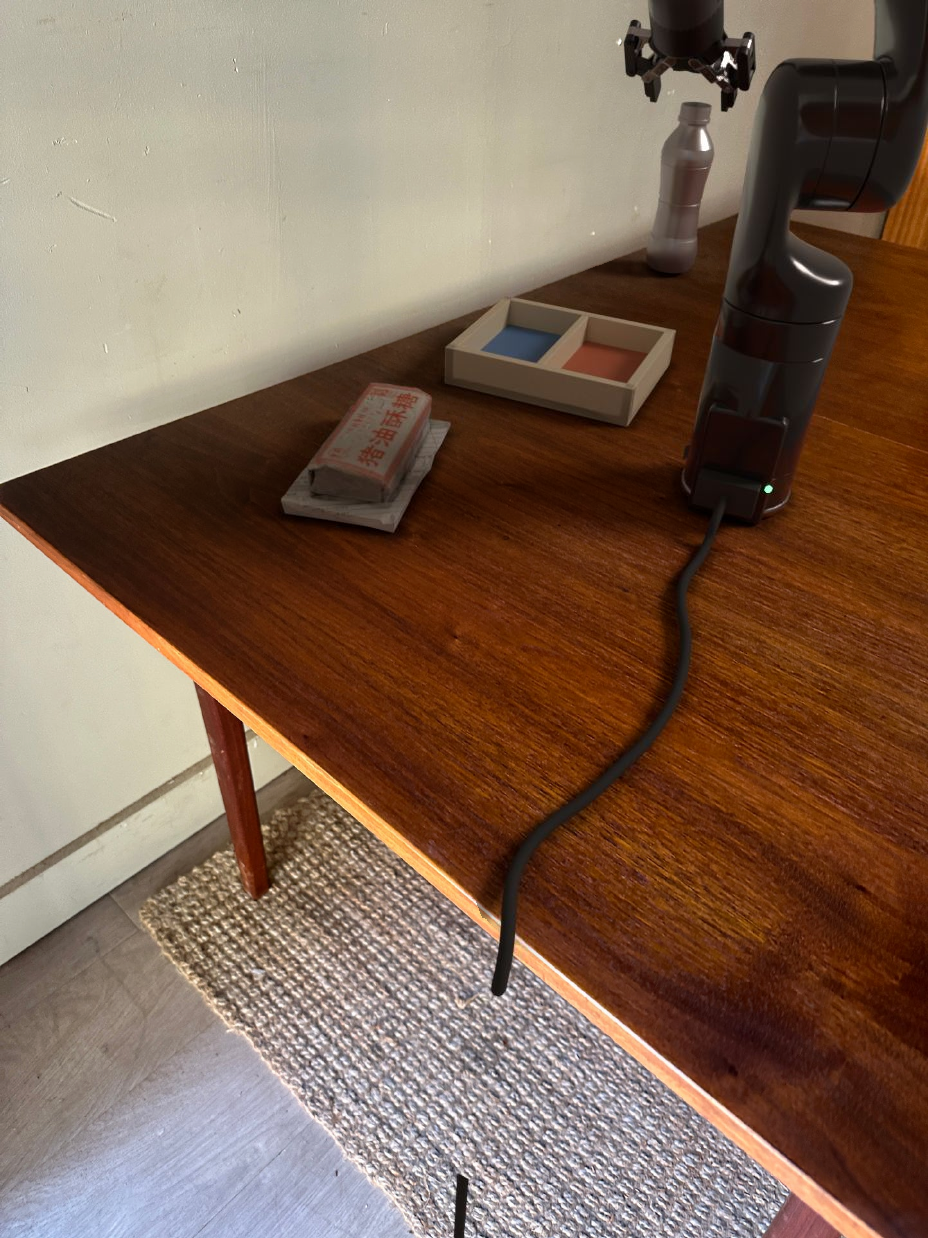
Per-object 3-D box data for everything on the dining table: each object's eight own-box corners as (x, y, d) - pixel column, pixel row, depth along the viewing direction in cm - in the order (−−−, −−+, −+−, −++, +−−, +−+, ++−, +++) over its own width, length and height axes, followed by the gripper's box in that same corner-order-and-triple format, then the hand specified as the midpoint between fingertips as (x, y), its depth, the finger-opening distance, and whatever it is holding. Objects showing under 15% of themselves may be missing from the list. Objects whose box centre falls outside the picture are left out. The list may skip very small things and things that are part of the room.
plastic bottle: (692, 281, 121) (725, 112, 108) (641, 276, 122) (667, 108, 109) (693, 264, 126) (724, 101, 113) (644, 260, 127) (669, 97, 114)
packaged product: (350, 371, 86) (452, 386, 85) (352, 417, 89) (450, 433, 88) (275, 466, 73) (394, 486, 71) (280, 516, 76) (395, 536, 74)
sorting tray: (627, 426, 90) (633, 389, 87) (444, 383, 96) (445, 346, 93) (669, 364, 101) (676, 329, 98) (503, 329, 107) (505, 295, 104)
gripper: (606, 20, 94) (623, 121, 110) (744, 35, 90) (741, 138, 105) (629, -47, 94) (642, 63, 110) (767, -35, 90) (761, 77, 106)
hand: (691, 100), depth 108 cm, fingers open, 8 cm apart
